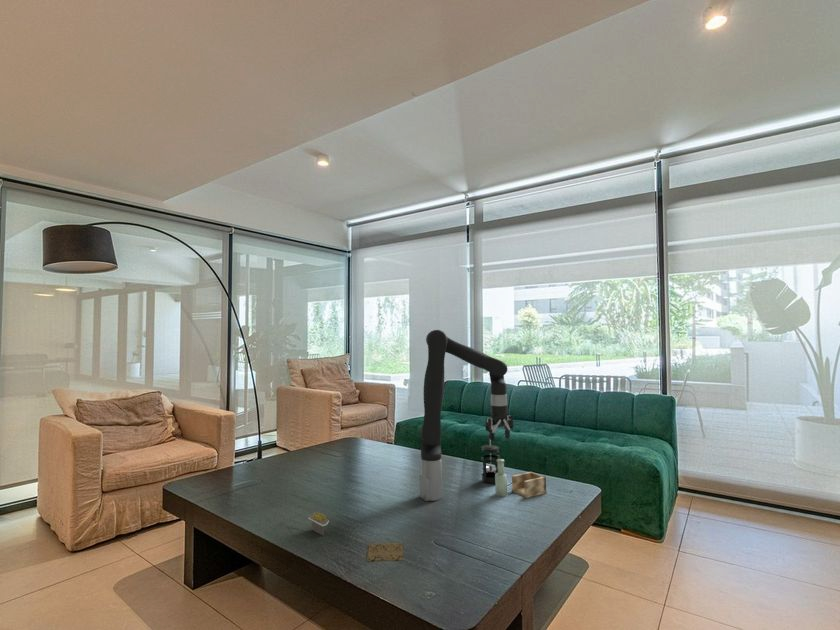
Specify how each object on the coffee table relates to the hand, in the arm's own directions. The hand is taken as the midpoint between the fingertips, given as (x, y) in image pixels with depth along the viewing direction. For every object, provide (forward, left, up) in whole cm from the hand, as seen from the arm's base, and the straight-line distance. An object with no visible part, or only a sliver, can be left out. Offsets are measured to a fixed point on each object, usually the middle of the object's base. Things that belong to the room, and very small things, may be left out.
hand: (499, 439), depth 193 cm
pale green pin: (0, 0, -25) cm, 25 cm away
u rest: (+13, -4, -25) cm, 28 cm away
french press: (+7, +16, -25) cm, 30 cm away
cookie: (-66, -21, -25) cm, 74 cm away
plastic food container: (-82, +5, -25) cm, 86 cm away
